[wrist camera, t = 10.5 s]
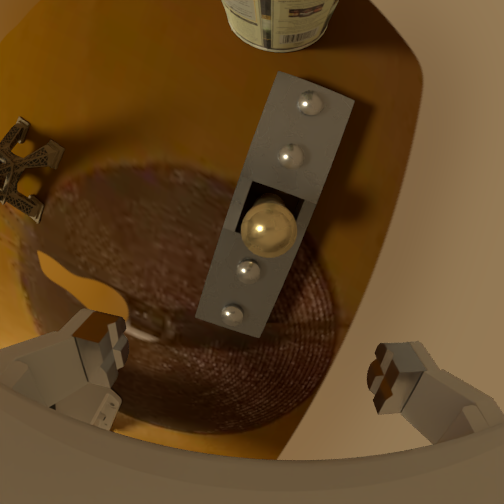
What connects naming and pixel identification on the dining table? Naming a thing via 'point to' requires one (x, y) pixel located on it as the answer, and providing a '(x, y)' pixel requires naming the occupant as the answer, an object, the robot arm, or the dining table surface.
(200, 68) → the dining table surface
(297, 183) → the grey peg board
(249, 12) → the coffee can
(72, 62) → the dining table surface
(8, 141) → the eiffel tower
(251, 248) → the pin
